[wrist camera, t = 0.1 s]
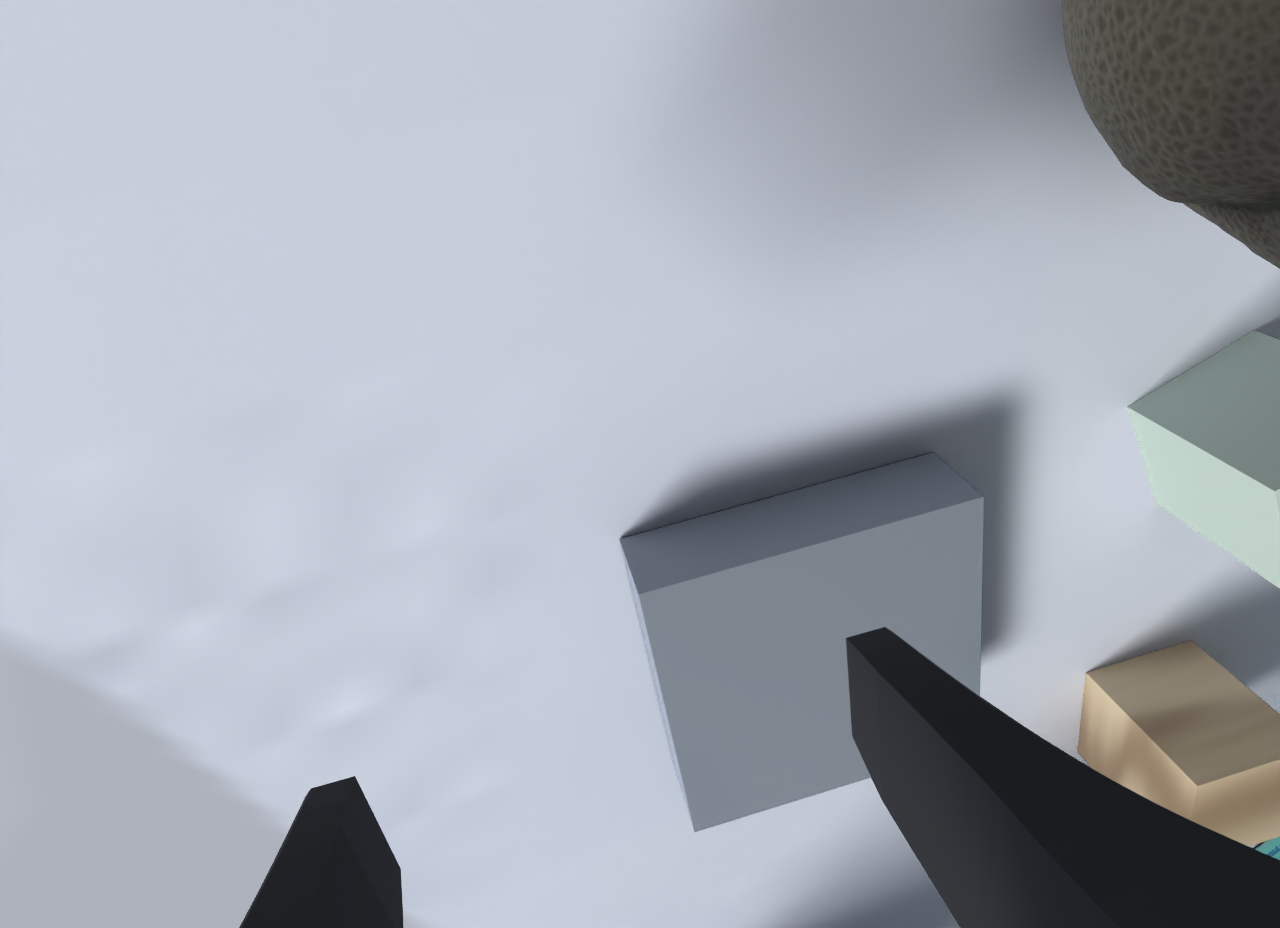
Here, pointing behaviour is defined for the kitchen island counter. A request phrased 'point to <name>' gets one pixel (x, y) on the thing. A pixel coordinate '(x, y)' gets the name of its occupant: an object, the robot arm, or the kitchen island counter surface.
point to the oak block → (1186, 740)
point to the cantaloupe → (1189, 102)
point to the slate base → (800, 624)
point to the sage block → (1220, 450)
